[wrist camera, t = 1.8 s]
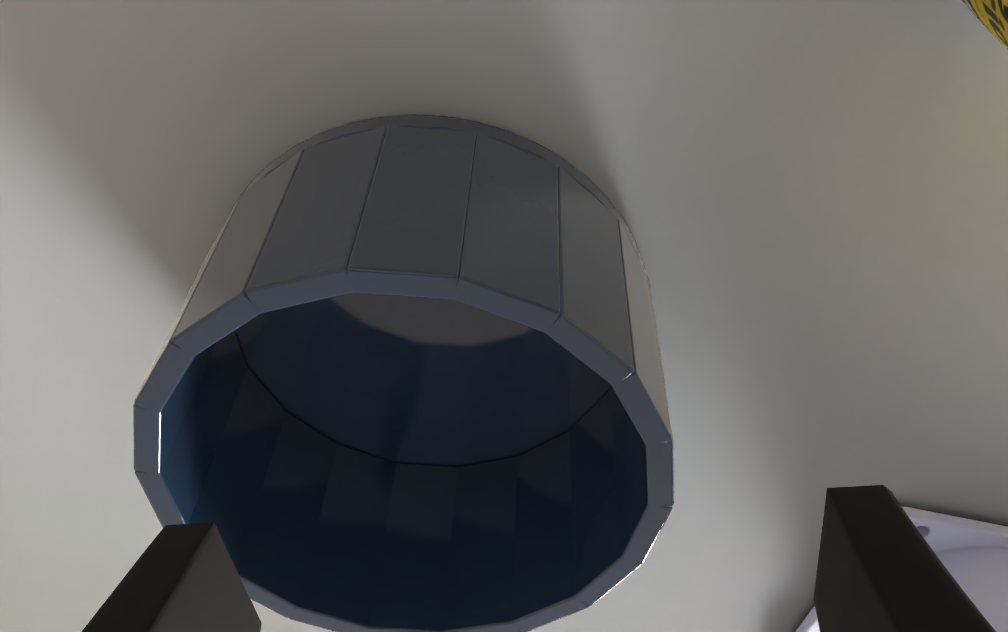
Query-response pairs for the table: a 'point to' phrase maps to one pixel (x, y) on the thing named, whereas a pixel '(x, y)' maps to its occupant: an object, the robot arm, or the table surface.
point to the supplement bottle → (992, 16)
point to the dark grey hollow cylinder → (416, 386)
